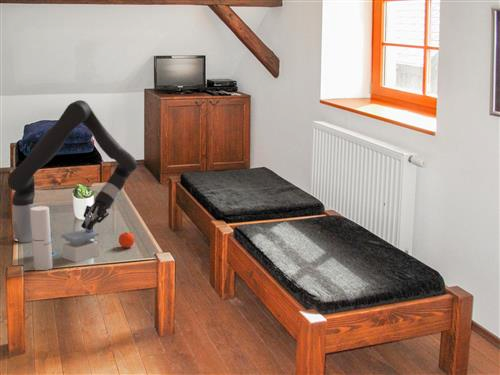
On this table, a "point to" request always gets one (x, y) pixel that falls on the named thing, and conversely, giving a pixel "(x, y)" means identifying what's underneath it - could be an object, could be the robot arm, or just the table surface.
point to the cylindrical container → (41, 238)
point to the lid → (81, 234)
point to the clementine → (126, 239)
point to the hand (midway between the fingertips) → (85, 228)
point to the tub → (80, 250)
